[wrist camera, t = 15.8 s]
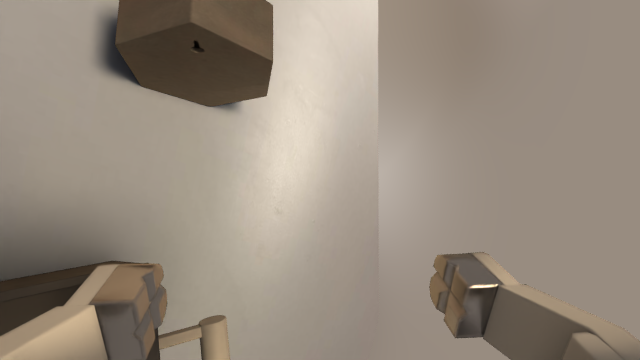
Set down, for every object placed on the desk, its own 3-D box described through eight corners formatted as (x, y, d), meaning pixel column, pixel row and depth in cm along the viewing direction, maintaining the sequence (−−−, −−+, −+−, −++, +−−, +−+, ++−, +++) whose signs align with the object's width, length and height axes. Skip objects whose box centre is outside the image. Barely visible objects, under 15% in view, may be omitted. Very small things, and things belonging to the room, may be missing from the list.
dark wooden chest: (-78, 450, 27) (-92, 515, 20) (-82, 296, 28) (-97, 311, 21) (120, 369, 38) (152, 394, 31) (112, 260, 39) (142, 263, 32)
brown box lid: (157, 531, 17) (250, 481, 20) (138, 291, 18) (229, 272, 21) (149, 397, 31) (205, 378, 33) (139, 264, 32) (194, 254, 34)
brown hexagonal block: (264, 67, 54) (278, -32, 35) (264, 110, 53) (278, 33, 33) (154, 56, 50) (100, -62, 31) (151, 102, 49) (92, 9, 29)
